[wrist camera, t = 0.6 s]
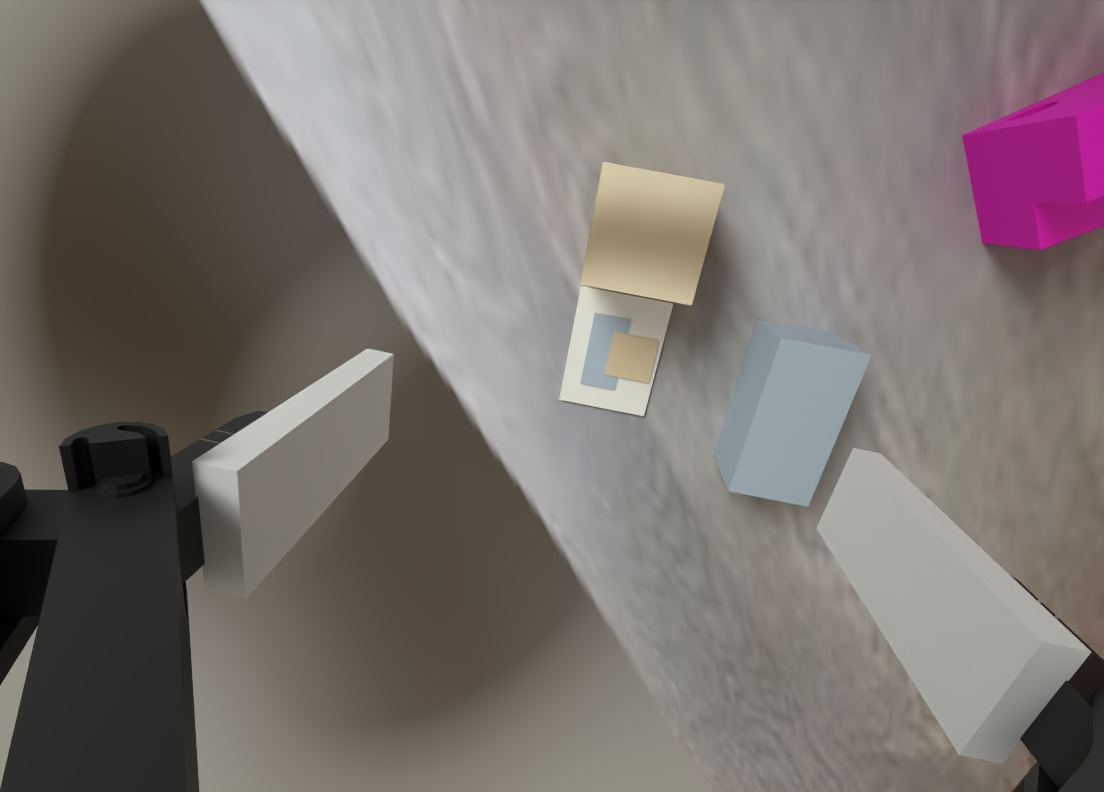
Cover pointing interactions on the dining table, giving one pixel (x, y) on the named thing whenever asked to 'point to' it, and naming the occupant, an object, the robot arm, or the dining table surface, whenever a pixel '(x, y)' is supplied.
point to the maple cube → (650, 233)
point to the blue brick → (787, 411)
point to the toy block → (1041, 170)
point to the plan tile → (614, 350)
